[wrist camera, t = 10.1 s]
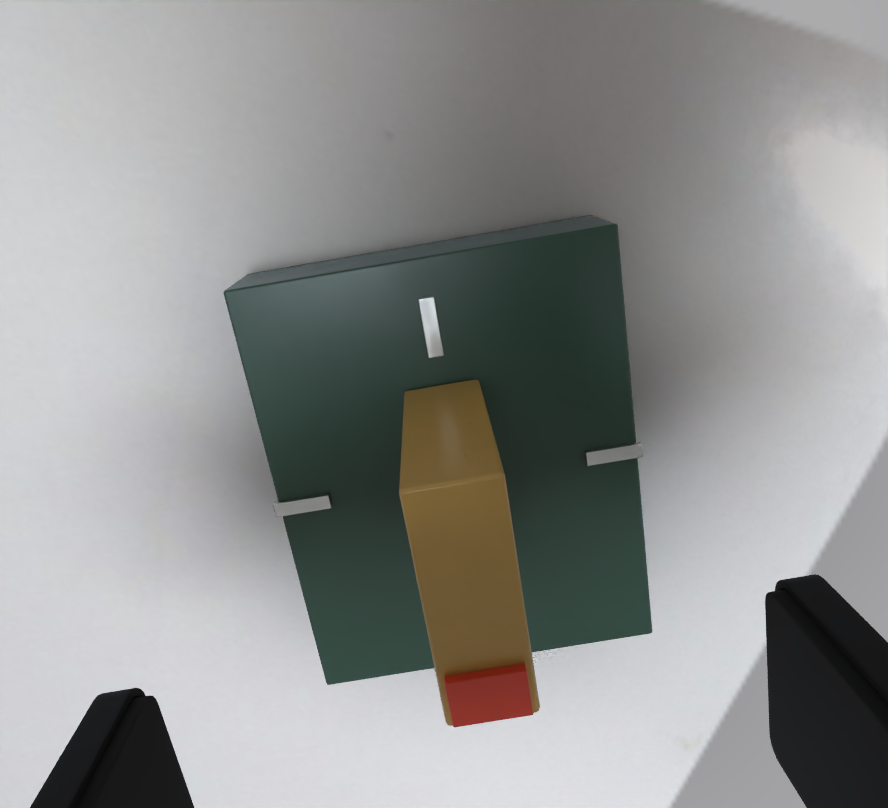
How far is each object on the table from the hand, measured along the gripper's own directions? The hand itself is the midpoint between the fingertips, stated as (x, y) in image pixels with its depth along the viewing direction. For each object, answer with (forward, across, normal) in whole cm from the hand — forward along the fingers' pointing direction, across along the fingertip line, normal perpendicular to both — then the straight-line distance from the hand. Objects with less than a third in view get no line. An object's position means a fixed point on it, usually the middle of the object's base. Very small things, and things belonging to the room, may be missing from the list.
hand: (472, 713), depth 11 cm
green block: (+10, 0, 0) cm, 10 cm away
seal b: (+8, 0, 0) cm, 8 cm away
